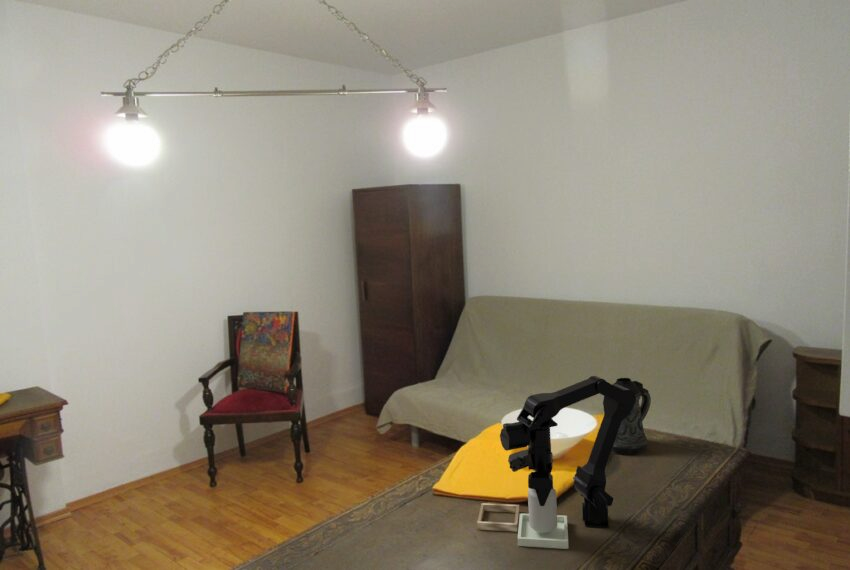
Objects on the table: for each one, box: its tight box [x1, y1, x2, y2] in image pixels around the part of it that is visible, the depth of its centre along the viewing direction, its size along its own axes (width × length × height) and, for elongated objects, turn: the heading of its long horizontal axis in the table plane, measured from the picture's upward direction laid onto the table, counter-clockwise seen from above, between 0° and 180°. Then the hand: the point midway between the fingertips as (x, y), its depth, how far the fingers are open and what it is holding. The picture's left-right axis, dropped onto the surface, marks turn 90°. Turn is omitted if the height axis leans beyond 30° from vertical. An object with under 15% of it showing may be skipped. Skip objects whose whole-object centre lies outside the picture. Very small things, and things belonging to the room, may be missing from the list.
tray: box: [517, 512, 569, 550], centre depth 160 cm, size 13×13×2 cm
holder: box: [476, 502, 520, 533], centre depth 169 cm, size 11×11×2 cm
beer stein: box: [611, 377, 652, 456], centre depth 214 cm, size 16×19×25 cm
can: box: [527, 487, 558, 533], centre depth 160 cm, size 8×8×12 cm
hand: (542, 498), depth 159 cm, fingers closed on can, 7 cm apart
